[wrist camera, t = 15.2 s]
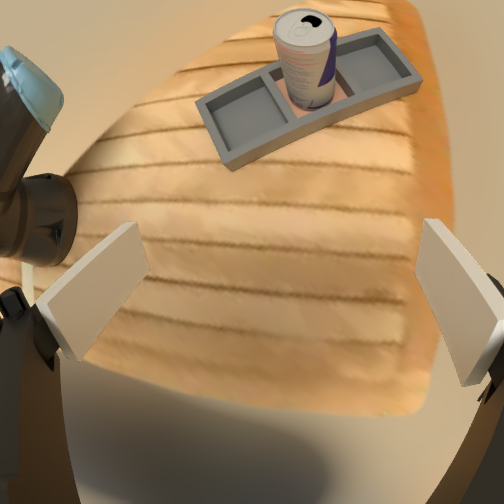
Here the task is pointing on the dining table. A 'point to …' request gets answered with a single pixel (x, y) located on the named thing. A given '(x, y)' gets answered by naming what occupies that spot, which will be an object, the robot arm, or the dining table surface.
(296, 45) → the energy drink
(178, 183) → the dining table surface
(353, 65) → the compartment tray
